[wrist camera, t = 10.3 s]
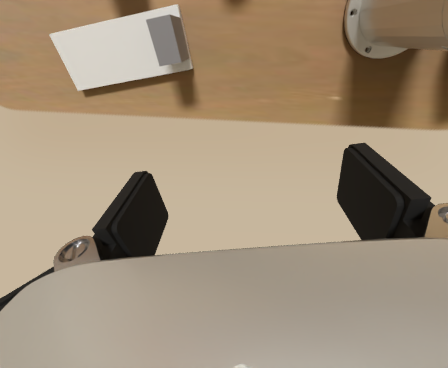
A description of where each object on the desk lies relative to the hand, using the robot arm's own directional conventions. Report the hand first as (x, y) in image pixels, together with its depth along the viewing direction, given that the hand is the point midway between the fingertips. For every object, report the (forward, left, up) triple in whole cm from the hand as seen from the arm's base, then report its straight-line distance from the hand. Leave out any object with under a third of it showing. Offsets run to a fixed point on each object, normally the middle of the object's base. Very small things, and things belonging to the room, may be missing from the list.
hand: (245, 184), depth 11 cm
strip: (+17, -7, -30) cm, 35 cm away
